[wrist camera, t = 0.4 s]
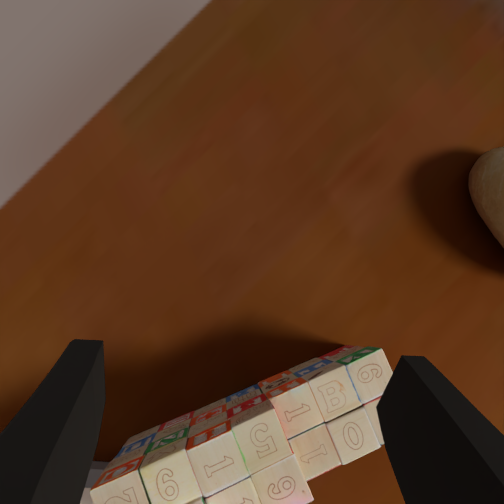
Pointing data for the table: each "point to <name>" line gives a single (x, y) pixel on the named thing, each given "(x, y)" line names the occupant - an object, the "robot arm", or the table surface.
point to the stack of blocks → (257, 438)
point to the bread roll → (489, 190)
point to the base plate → (92, 480)
